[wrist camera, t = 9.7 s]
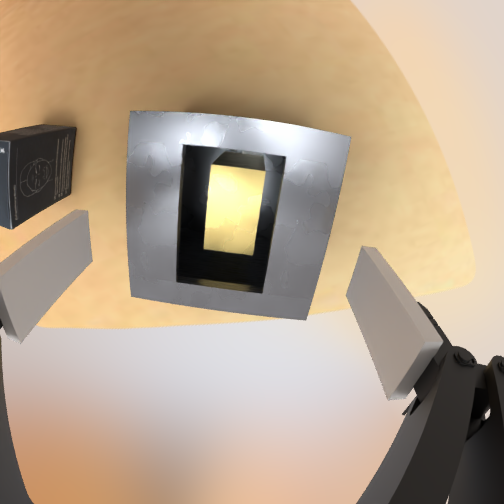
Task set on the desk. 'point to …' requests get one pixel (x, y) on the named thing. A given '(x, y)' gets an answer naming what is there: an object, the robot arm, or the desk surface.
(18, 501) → the robot arm
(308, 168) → the gray slotted cube
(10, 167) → the box
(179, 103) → the desk surface
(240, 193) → the yellow rectangular block
